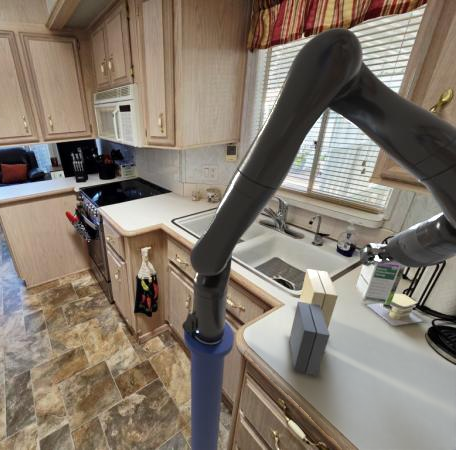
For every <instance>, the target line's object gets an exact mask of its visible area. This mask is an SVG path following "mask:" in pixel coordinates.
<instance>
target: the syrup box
mask: <svg viewBox="0 0 456 450" xmlns="http://www.w3.org/2000/svg"><path fill="white" fill-rule="evenodd" d="M369 244H370V245H371V246H372V247H373V248H380V247H381V246H385V245H386V244H382V243H375V242H374V243H373V242H370V243H369ZM374 259H375V254H374ZM383 259H384V258H383ZM406 268H407V267H406V266H405V265H402V264H400V263H399V262H395V263H394V262H387V263H379V262H374V263H372V264H370V265H367V266H366V265H363V264H362V267H361V270H360V274H359V277H358V280H357V282H356V285H355V289H356V291H357V294H358V295H359V297H360V298H361V299H362V302H369V303H373V304H376V303H380V304H386V305H390V304H391V302H392V299H393V297H394V294H396V292H397V289H398V286H399V284H400V283H401V279H402V277H403V274H404V272H405V269H406Z"/></svg>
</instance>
